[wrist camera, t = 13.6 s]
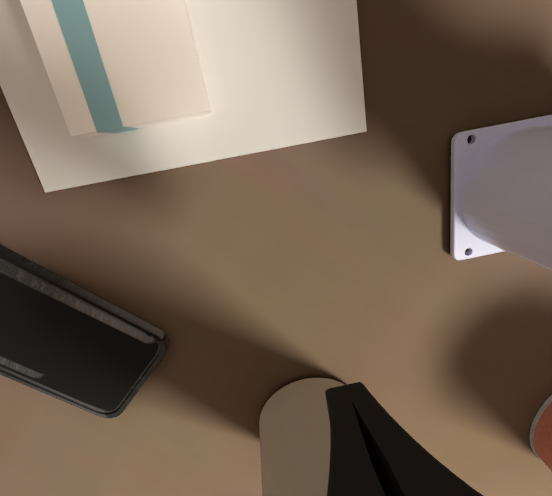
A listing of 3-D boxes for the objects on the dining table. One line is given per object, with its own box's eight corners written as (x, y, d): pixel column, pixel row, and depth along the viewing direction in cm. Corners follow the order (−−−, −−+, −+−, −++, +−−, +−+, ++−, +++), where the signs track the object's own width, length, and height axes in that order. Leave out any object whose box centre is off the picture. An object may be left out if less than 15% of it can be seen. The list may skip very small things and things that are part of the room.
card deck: (148, -153, 12) (-28, -126, 12) (209, 111, 15) (70, 137, 15) (163, -107, 14) (14, -84, 14) (213, 115, 17) (92, 137, 17)
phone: (-79, 213, 17) (172, 344, 21) (-60, 208, 18) (176, 334, 22) (-128, 321, 19) (113, 424, 22) (-107, 312, 20) (119, 411, 23)
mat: (336, -213, 14) (339, -223, 13) (364, 131, 18) (366, 131, 18) (-91, -144, 13) (-100, -153, 13) (49, 191, 18) (45, 192, 17)
